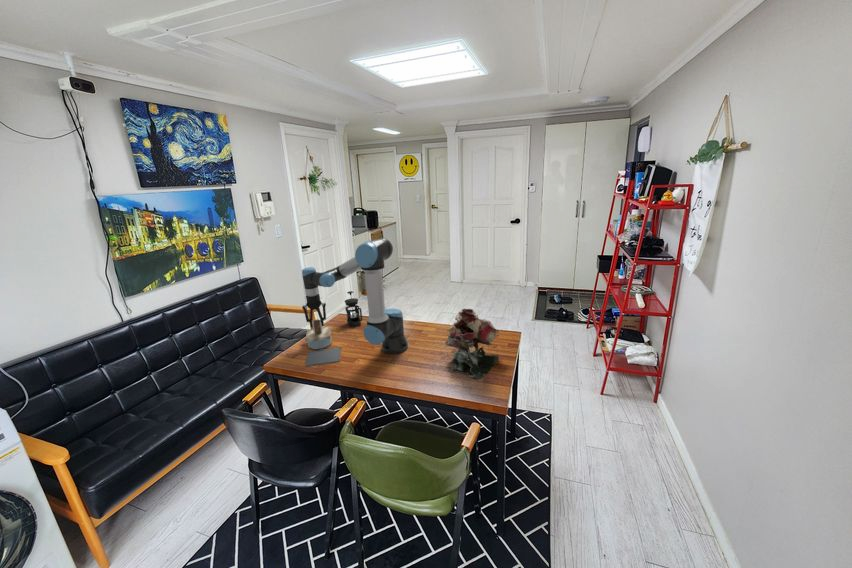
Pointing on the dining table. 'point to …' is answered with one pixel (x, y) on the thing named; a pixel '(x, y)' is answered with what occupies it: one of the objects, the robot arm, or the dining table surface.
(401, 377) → the dining table surface
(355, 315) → the french press
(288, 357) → the dining table surface
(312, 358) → the mat
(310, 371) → the dining table surface
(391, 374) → the dining table surface
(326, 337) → the lid
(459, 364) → the rose bouquet
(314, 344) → the bowl
